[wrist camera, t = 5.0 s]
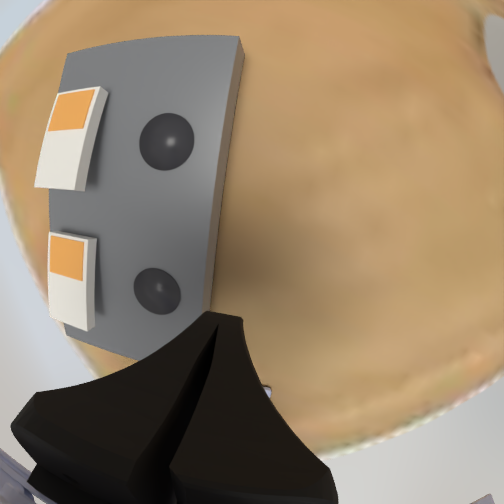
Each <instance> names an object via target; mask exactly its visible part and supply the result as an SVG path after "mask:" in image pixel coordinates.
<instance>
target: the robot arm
mask: <svg viewBox="0 0 504 504" xmlns="http://www.w3.org/2000/svg"><path fill="white" fill-rule="evenodd" d="M270 396H271V389H270V388H268V387H263V386H262V384H261V382H260V380H259V377H258V375H257V373H256V371H255V368H254V366H253V363H252V360H251V358H250V354H249V351H248V348H247V345H246V341H245V336H244V330H243V319H242V318H241V317H238V316H232V315H227V314H221V313H216V312H211V311H205V312H204V313H202V314H201V315H200V316H199V317H198V318H197V319H196V320H195V321H194V322H193V323H192V324H191V325H189V326H188V327H187V328H186V329H185V330H183V331H182V332H181V333H180V334H179V335H177V336H176V337H175V338H174V339H172V340H171V341H170V342H168V343H167V344H165V345H164V346H162V347H161V348H159V349H158V350H157V351H155V352H154V353H152V354H150V355H149V356H147V357H145V358H144V359H142V360H140V361H138V362H136V363H135V364H133V365H131V366H129V367H127V368H124V369H122V370H120V371H117V372H115V373H112V374H110V375H108V376H105V377H102V378H99V379H96V380H93V381H90V382H87V383H84V384H79V385H76V386H71V387H66V388H61V389H55V390H49V391H42V392H36V393H35V394H34V395H33V397H32V398H31V399H30V400H29V401H28V402H27V404H26V405H25V406H24V408H23V409H22V410H21V412H20V413H19V414H18V415H17V417H16V418H15V419H14V421H13V422H12V423H11V431H12V432H13V435H14V436H15V438H16V439H17V441H18V442H19V443H20V444H21V446H22V447H23V448H24V449H25V450H26V452H27V453H28V454H29V455H30V456H31V457H32V458H33V460H34V461H35V462H36V463H37V465H36V466H35V468H34V470H33V471H32V472H30V471H29V470H27V469H26V468H25V467H23V466H22V465H21V464H19V463H18V462H16V461H15V460H14V459H13V458H11V457H10V456H9V455H8V454H7V453H5V452H4V451H3V450H2V449H0V504H36V503H35V501H34V497H33V495H34V496H36V497H37V498H39V499H40V500H42V501H43V502H45V503H46V504H338V494H337V490H336V487H335V483H334V480H333V477H332V474H331V471H330V469H329V467H327V466H326V465H325V464H324V463H323V462H322V461H321V460H320V459H318V458H317V457H316V456H315V455H314V454H313V453H312V452H311V451H310V450H309V449H308V448H307V447H306V446H305V445H304V444H303V442H302V441H301V440H300V439H299V438H298V437H297V436H296V435H295V433H294V432H293V431H292V430H291V428H290V427H289V426H288V424H287V423H286V422H285V420H284V419H283V418H282V416H281V415H280V414H279V412H278V411H277V410H276V408H275V406H274V405H273V403H272V402H271V400H270ZM31 493H32V494H33V495H32V494H31ZM471 504H494V501H493V498H492V495H491V494H488V495H486V496H484V497H482V498H480V499H478V500H476V501H475V502H473V503H471Z"/></svg>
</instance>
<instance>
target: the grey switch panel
mask: <svg viewBox="0 0 504 504" xmlns="http://www.w3.org/2000/svg"><path fill="white" fill-rule="evenodd" d="M244 56H245V53H244V50H243V47H242V44H241V40H240V37H239V36H225V35H186V36H167V37H155V38H146V39H137V40H130V41H124V42H117V43H112V44H107V45H101V46H97V47H92V48H88V49H84V50H80V51H76V52H72V53H68V54H67V58H66V61H65V65H64V69H63V74H62V78H61V83H60V87H59V92H58V93H62V92H67V91H72V90H78V89H84V88H91V87H99V86H101V87H102V88H103V89H104V90H106V91H107V92H108V96H107V99H106V102H105V105H104V108H103V112H102V115H101V119H100V122H99V126H98V130H97V134H96V138H95V142H94V146H93V150H92V155H91V159H90V164H89V169H88V175H87V180H86V186H85V192H84V191H73V190H61V189H49V218H50V232H52V231H61V232H66V233H71V234H76V235H82V236H87V237H92V238H97V243H96V258H95V287H94V309H95V327H93V328H92V329H90V330H89V331H85V330H82V329H79V328H76V327H74V326H71V325H69V324H66V323H64V327H65V331H66V335H67V336H70V337H72V338H75V339H77V340H80V341H82V342H85V343H88V344H90V345H93V346H96V347H99V348H101V349H104V350H107V351H110V352H113V353H116V354H119V355H122V356H125V357H128V358H132V359H135V360H138V361H140V360H142V359H144V358H145V357H147V356H149V355H150V354H152V353H154V352H155V351H157V350H158V349H159V348H161V347H162V346H164V345H165V344H167V343H168V342H170V341H171V340H172V339H174V338H175V337H176V336H177V335H179V334H180V333H181V332H182V331H183V330H185V329H186V328H187V327H188V326H189V325H191V324H192V323H193V322H194V321H195V320H196V319H197V318H198V317H199V316H200V315H201V314H202V313H204V312H205V311H210V304H211V293H212V283H213V273H214V264H215V254H216V245H217V237H218V228H219V220H220V212H221V204H222V196H223V188H224V181H225V174H226V167H227V160H228V153H229V146H230V139H231V133H232V126H233V120H234V114H235V107H236V101H237V95H238V90H239V84H240V78H241V72H242V67H243V61H244Z"/></svg>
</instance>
